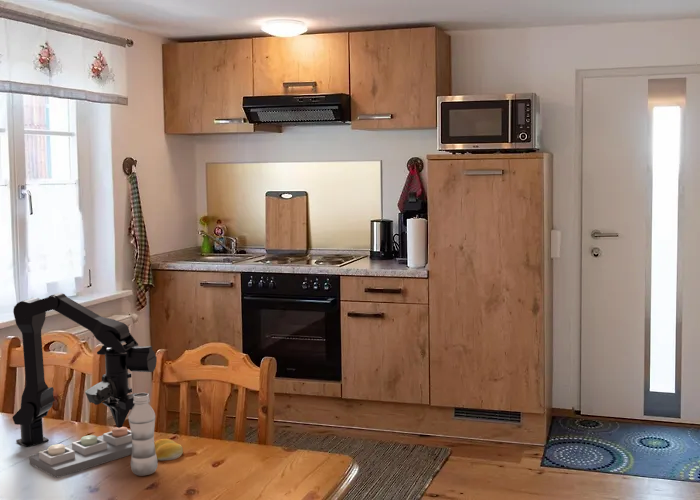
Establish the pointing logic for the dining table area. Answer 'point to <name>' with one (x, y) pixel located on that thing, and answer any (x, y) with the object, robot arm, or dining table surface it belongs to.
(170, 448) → the bread roll
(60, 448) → the cream button
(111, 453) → the panel
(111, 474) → the dining table surface
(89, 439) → the sage button
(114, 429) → the terracotta button
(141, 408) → the plastic bottle
